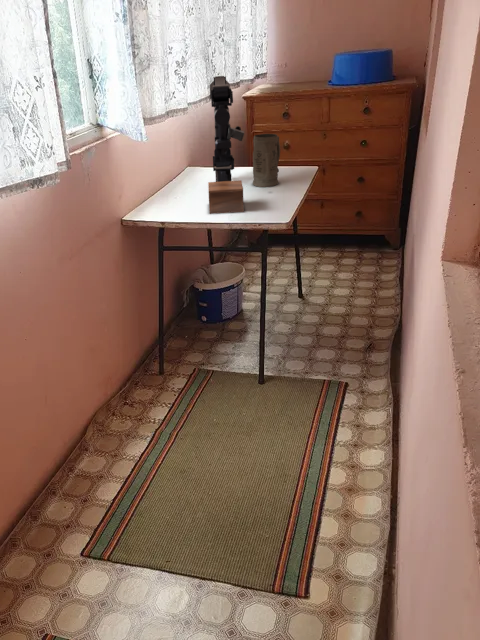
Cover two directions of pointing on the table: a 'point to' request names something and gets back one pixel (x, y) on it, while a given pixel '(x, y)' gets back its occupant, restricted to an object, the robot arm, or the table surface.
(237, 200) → the walnut box
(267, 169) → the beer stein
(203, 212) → the table surface
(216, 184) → the lid
